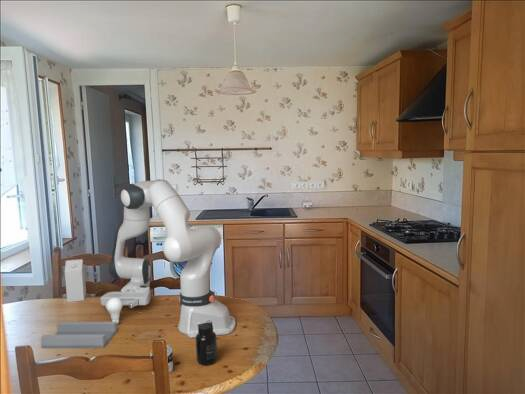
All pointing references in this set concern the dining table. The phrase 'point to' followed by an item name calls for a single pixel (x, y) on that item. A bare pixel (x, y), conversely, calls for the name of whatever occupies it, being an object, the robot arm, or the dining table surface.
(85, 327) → the trough
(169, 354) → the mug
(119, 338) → the dining table surface
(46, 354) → the dining table surface
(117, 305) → the lightbulb
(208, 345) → the supplement bottle
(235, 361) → the dining table surface
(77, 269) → the milk carton
